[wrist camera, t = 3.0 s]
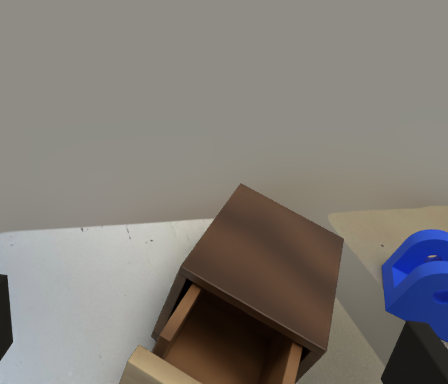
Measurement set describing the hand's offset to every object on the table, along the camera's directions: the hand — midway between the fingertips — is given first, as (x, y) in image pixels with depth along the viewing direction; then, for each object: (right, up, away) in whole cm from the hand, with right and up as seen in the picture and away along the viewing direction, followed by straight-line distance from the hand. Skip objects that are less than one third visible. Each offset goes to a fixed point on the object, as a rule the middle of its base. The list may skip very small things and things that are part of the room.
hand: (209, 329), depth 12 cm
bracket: (+29, -12, +35) cm, 47 cm away
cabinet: (+2, -8, +24) cm, 25 cm away
